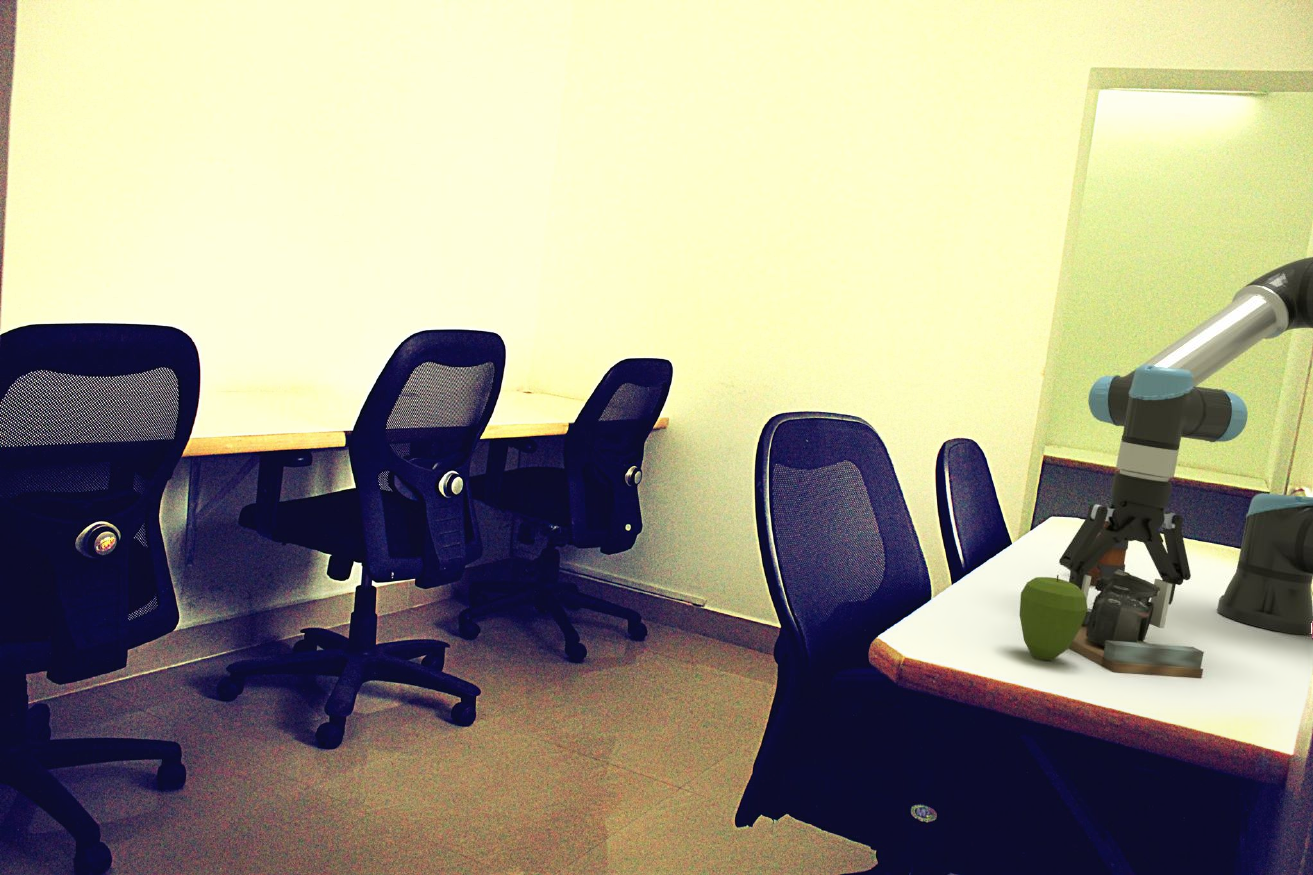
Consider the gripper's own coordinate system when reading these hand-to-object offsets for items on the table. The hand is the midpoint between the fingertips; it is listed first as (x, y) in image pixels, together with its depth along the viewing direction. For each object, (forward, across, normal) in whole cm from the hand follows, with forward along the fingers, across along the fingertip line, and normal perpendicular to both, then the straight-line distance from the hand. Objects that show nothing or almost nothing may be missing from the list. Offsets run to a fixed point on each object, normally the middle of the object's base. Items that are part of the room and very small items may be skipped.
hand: (1115, 622), depth 151 cm
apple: (+4, +15, +6) cm, 17 cm away
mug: (+4, -30, -44) cm, 53 cm away
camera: (+3, 0, 0) cm, 3 cm away
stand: (+4, 0, 0) cm, 4 cm away
